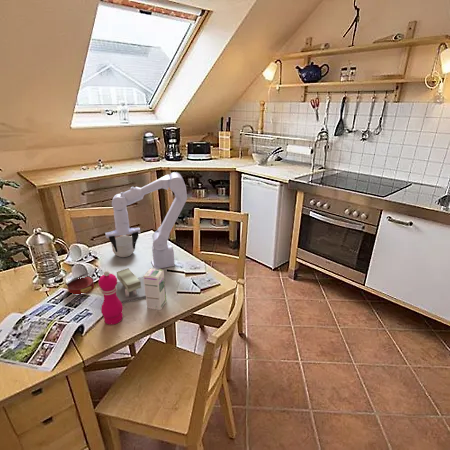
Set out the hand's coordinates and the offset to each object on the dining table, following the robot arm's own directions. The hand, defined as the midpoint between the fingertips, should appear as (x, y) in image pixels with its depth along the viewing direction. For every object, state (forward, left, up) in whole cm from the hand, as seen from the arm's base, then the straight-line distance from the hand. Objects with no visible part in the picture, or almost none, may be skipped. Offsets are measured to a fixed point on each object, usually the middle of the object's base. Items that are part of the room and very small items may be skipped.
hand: (125, 249), depth 141 cm
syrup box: (-6, +32, -10) cm, 34 cm away
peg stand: (+2, +19, -9) cm, 21 cm away
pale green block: (+2, +19, -5) cm, 20 cm away
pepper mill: (+10, +34, -10) cm, 37 cm away
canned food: (+20, +9, -10) cm, 24 cm away
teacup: (-1, -15, -10) cm, 18 cm away
